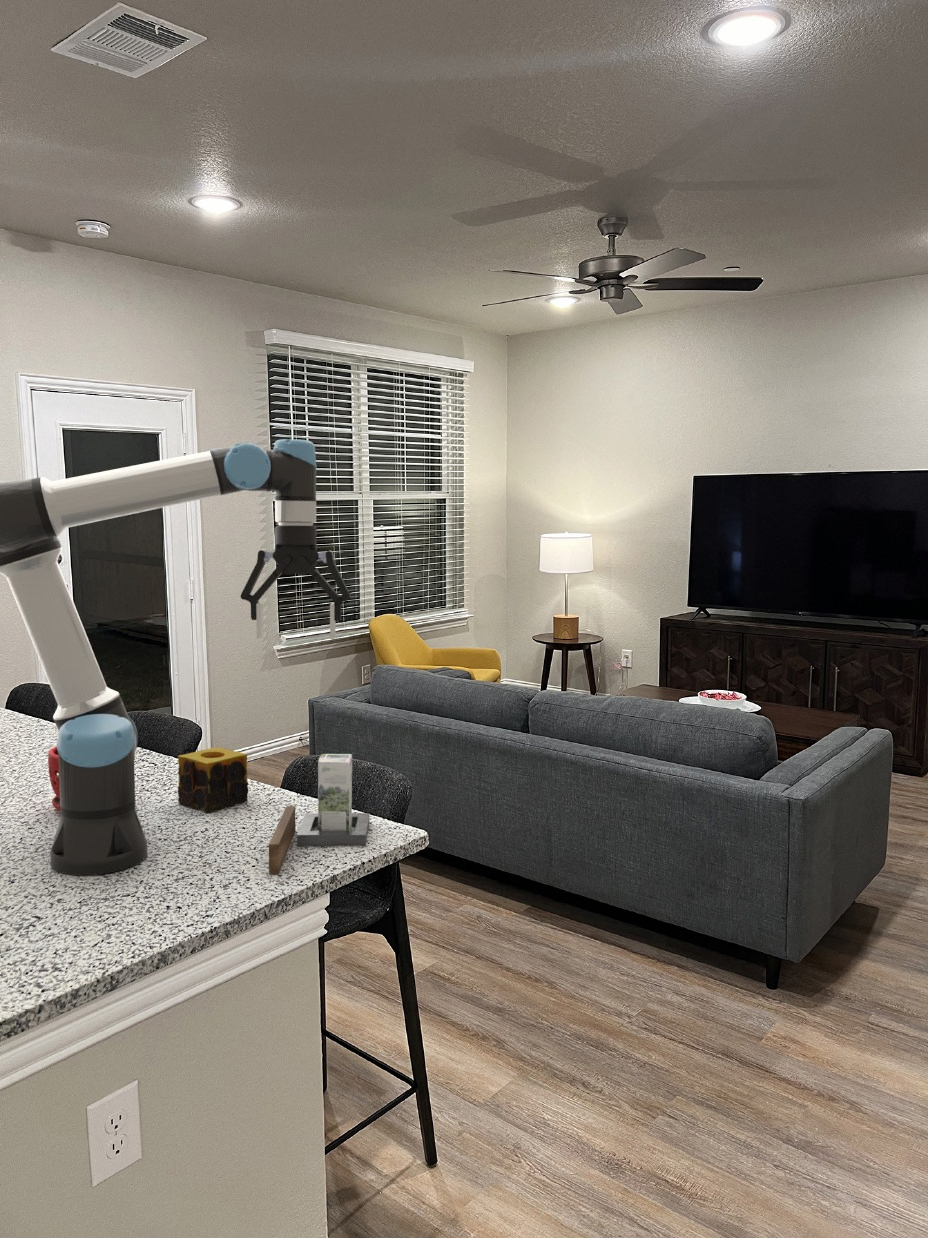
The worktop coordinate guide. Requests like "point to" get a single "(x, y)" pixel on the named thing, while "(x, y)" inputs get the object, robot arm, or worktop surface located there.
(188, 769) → the candle
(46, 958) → the worktop surface
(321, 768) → the syrup box
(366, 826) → the block
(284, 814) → the rail
